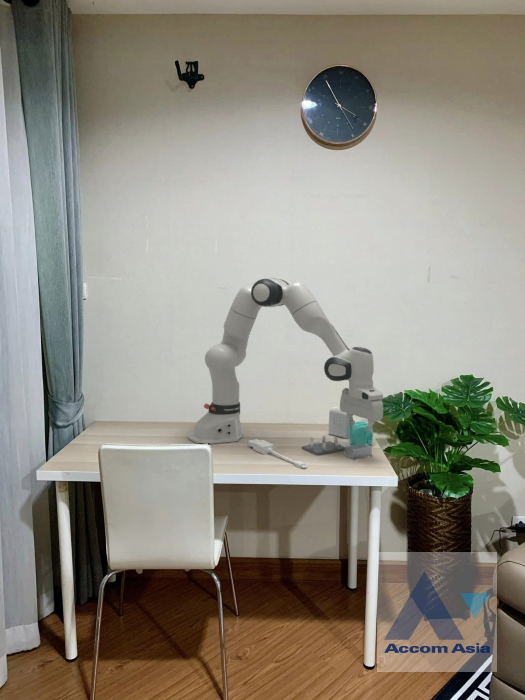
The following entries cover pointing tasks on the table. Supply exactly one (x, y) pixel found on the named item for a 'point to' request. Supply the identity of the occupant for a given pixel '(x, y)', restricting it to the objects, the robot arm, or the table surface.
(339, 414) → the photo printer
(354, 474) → the table surface
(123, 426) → the table surface
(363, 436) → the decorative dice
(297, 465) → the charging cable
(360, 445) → the block
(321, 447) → the peg board
